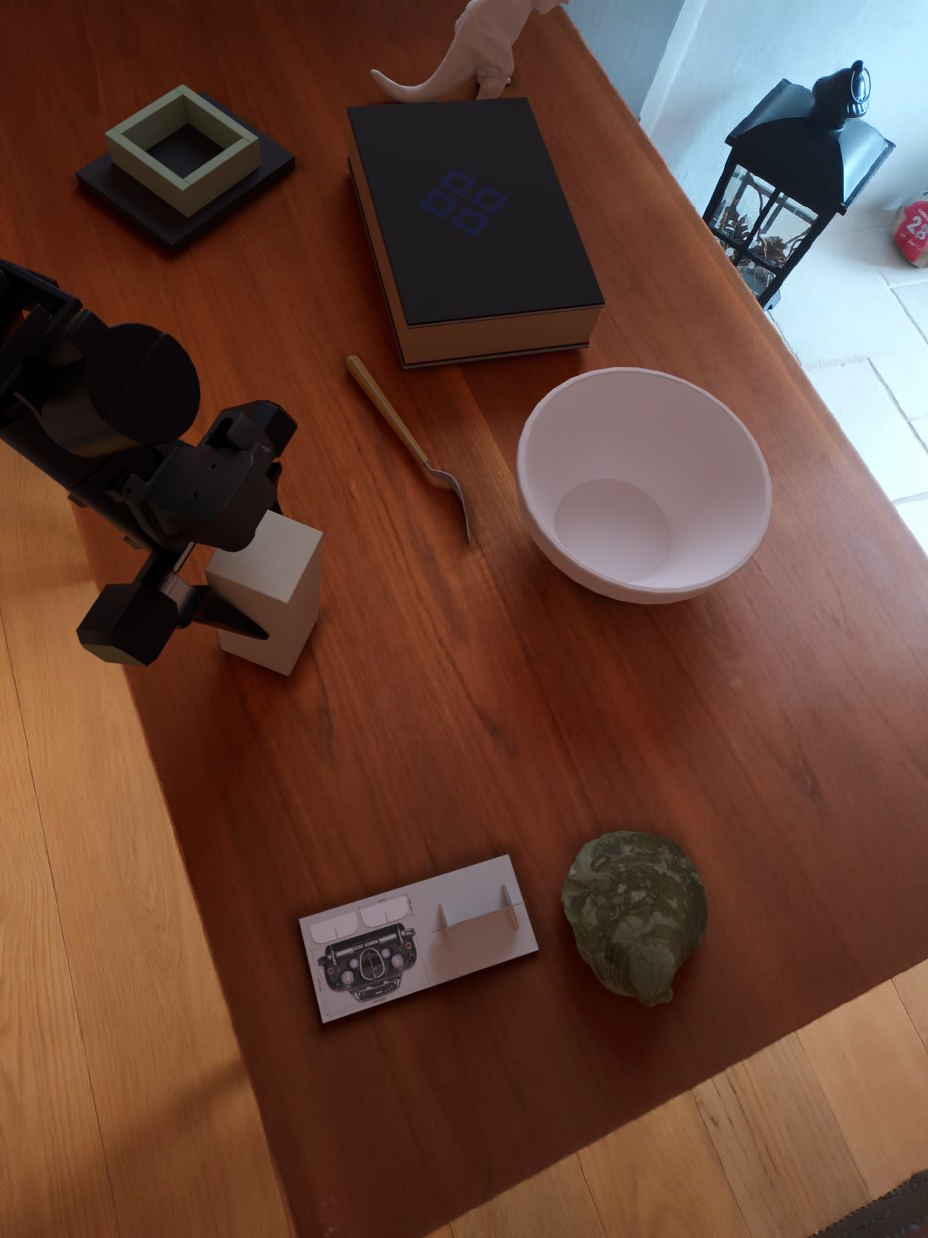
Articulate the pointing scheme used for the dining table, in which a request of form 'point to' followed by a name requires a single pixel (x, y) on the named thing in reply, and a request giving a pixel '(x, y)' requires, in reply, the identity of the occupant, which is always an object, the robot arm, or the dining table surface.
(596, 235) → the dining table surface
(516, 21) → the dinosaur figurine
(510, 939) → the car cutout
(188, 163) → the stepped rectangular base
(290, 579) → the white rectangular block
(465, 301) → the book
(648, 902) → the seashell
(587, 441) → the bowl
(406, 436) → the fork
